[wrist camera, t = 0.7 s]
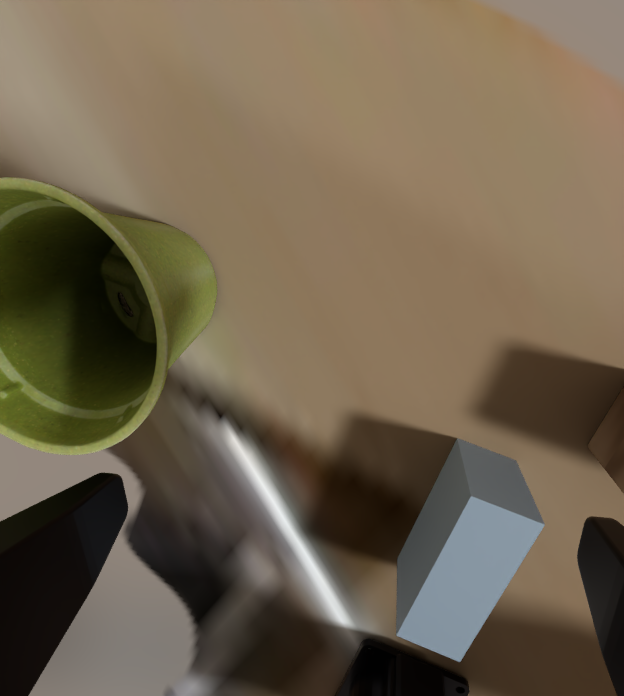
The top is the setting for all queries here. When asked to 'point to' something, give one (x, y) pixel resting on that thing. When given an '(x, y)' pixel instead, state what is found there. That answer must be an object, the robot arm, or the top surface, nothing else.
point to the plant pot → (89, 316)
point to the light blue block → (464, 549)
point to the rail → (611, 441)
